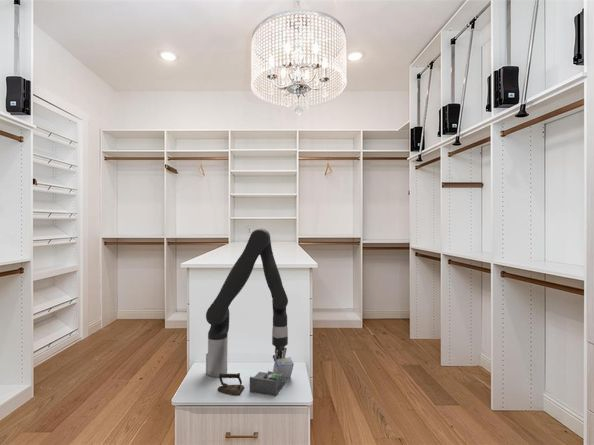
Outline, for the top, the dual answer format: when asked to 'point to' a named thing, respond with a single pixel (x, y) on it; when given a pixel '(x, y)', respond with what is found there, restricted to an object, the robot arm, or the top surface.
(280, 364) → the medicine box
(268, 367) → the top surface
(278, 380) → the box
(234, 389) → the clothes iron
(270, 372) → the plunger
